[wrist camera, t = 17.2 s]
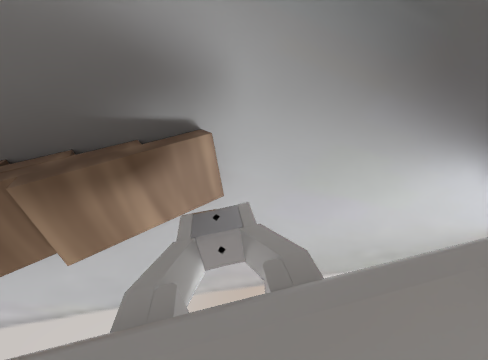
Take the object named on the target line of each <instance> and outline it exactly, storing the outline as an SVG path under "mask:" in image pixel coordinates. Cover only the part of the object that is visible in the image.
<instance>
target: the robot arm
mask: <svg viewBox="0 0 488 360" xmlns="http://www.w3.org/2000/svg"><path fill="white" fill-rule="evenodd" d="M240 262H246V263H247V264H248V265H249V266H250V267H251V268H252V269H253V270H254V271H255V272H256V273H257V274H258V275H259V276H260V277H261V278H262V279H263V280H264V285H265V294H262V295H258V296H254V297H250V298H246V299H242V300H238V301H234V302H230V303H227V304H222V305H219V306H215V307H211V308H207V309H203V310H199V311H195V312H192V313H189V312H188V309H187V306H188V304H189V302H190V300H191V298H192V296H193V295H194V293H195V291H196V289H197V287H198V285H199V283H200V281H201V279H202V278H203V276H204V274H205V271H207V270H210V269H214V268H218V267H222V266H226V265H231V264H235V263H240ZM6 360H488V237H486V238H482V239H478V240H474V241H470V242H466V243H462V244H459V245H455V246H451V247H447V248H443V249H439V250H435V251H431V252H427V253H423V254H419V255H415V256H411V257H407V258H403V259H400V260H396V261H392V262H388V263H384V264H380V265H376V266H372V267H368V268H364V269H360V270H356V271H352V272H348V273H344V274H340V275H336V276H333V277H329V278H325V279H324V278H323V276H322V274H321V273H320V271H319V269H318V268H317V266H316V264H315V263H314V261H313V259H312V258H311V256H310V254H309V253H308V251H307V250H306V249H304V248H302V247H300V246H298V245H297V244H295V243H293V242H291V241H290V240H288V239H286V238H284V237H283V236H281V235H279V234H277V233H276V232H274V231H272V230H270V229H269V228H267V227H265V226H263V225H262V224H257V223H256V220H255V218H254V215H253V212H252V210H251V207H250V204H249V203H248V202H246V203H242V204H237V205H234V206H229V207H225V208H220V209H214V210H208V211H203V212H197V213H192V214H187V215H182V216H181V218H180V224H179V229H178V235H177V241H176V242H173V243H172V244H171V245H170V246H169V247H168V248H167V249H166V250H165V251H164V252H163V253H162V254H161V255H160V257H159V258H158V259H157V260H156V261H155V262H154V263H153V264H152V265H151V266H150V267H149V268H148V269H147V270H146V271H145V272H144V273H143V274H142V275H141V276H140V278H139V279H138V280H137V281H136V282H135V283H134V284H133V285H132V286H131V287H130V288H129V289H128V290H127V291H126V292H125V294H124V296H123V299H122V302H121V304H120V307H119V310H118V312H117V315H116V318H115V320H114V323H113V326H112V328H111V331H110V333H109V334H105V335H101V336H97V337H93V338H89V339H85V340H81V341H77V342H73V343H69V344H65V345H61V346H58V347H54V348H49V349H46V350H42V351H38V352H34V353H30V354H26V355H22V356H18V357H14V358H10V359H6Z"/></svg>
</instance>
